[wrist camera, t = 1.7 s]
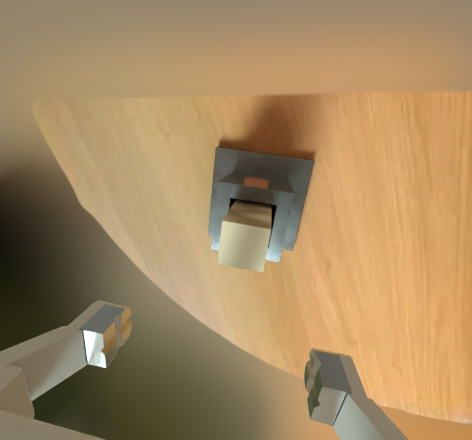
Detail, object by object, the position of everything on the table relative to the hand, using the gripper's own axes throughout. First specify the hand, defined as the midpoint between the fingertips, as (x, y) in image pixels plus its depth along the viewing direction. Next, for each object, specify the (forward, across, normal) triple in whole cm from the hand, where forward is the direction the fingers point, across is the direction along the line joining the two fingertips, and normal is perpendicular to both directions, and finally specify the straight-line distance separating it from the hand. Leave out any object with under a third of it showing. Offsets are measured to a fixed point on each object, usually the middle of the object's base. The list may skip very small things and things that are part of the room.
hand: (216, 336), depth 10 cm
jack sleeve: (+27, 0, 0) cm, 27 cm away
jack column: (+25, 0, 0) cm, 25 cm away
